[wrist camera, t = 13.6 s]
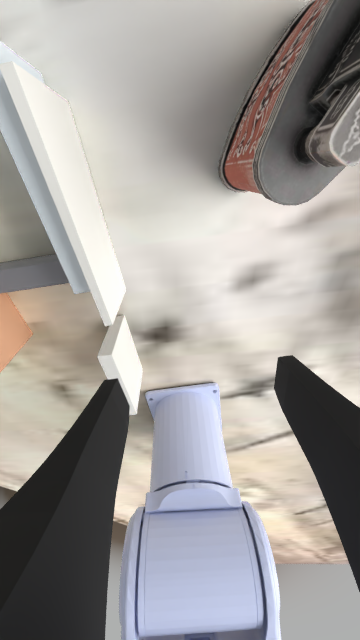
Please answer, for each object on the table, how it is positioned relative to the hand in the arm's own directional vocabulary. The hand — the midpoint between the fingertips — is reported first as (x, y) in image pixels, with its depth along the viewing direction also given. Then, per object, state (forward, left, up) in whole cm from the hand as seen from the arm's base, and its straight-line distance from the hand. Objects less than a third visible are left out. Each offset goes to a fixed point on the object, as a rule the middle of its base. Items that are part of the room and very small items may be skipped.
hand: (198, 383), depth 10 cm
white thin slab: (+2, +6, -9) cm, 11 cm away
